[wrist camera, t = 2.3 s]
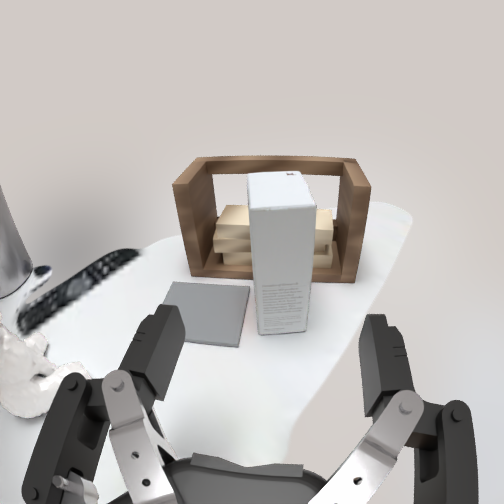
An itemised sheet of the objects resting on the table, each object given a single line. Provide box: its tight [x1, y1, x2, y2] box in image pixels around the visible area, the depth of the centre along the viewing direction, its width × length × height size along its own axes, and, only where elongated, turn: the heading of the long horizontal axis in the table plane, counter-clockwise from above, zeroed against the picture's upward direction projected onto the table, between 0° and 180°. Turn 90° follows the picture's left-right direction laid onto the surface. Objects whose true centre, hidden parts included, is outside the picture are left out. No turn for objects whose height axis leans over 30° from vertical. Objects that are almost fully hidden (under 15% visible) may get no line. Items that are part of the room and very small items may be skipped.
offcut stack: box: [213, 205, 333, 268], centre depth 30 cm, size 12×5×5 cm, turn 82°
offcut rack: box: [172, 156, 371, 283], centre depth 30 cm, size 17×8×10 cm, turn 82°
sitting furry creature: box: [0, 313, 92, 418], centre depth 15 cm, size 10×9×12 cm
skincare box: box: [247, 171, 317, 335], centre depth 23 cm, size 6×4×12 cm
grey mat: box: [163, 282, 250, 347], centre depth 26 cm, size 8×7×1 cm
